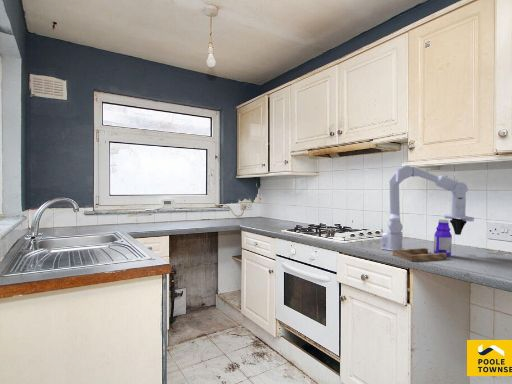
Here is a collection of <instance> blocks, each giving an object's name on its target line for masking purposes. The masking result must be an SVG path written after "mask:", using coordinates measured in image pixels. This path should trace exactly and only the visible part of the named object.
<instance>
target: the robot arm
mask: <svg viewBox="0 0 512 384" xmlns="http://www.w3.org/2000/svg"><path fill="white" fill-rule="evenodd" d="M411 177H413V178H414V177H419V178H422V179H425V180H427V181H430V182H433V183H434V184H435V186H436V187H439V188H441V189H444V190H446V191H449V192H451V211H450V212H451V214H448V213H445V214H443V218H444V219H447V220H449V219H450V220H449V223H451V224H450V225H452V228H453V231H454V235H457V236H458V235H459V236H460V235H461V234H462V231H463V229H464V227H465V225H466V224H467V222H474V221H475V217H474V216H473V217H472V216H467V215H466V211H467V210H466V204H467V203H466V202H467V201H466V200H467V195H466V194H467V193H468V190H469V187H468V186H467V185H466V183H464V182H459V180H458V179H453V178H450V177H448V175H442V174H441V175H438V176H437V175H436V174H433V173H430V172H428V171H426V170H423V169H421V168H417V167H414V166H410V165H402V166H401V167H399V168H397V170H395V172H394V173H393V175H392V176H391V178H390V179H389V180H388V184H389V187H388V188H389V189H388V191H389V192H388V193H389V221H388V223H387V227H388V230H387V231H384V232H382V235H381V248H380V249H381V250H385V251H392V252H393V250H403V249H404V248H403V231H402V230H403V224H402V222H401V215H400V207H401V206H400V184H401V183H403V181H405V180H406V179H408V178H411Z"/></svg>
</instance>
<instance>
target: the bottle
mask: <svg viewBox="0 0 512 384" xmlns="http://www.w3.org/2000/svg"><path fill="white" fill-rule="evenodd" d="M449 223H450V220H449V219H442V218H440V219H438V225H437V227H436V228H435V229H436V231H435V233H434V235H433V240H434V241H433V254H434V253H446V257H450V256H451V255H452V244H453V243H452V241H453V240H452V239H453V238H452V237H453V235H452V233H451V232H450V231H451V228H450V224H449Z"/></svg>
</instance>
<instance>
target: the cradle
mask: <svg viewBox="0 0 512 384" xmlns="http://www.w3.org/2000/svg"><path fill="white" fill-rule="evenodd" d="M428 249H429V248H426V247H423V248H422V247H421V248H408V249H406V248H403V250H393V251H392V256H393V257H397V258H399V259H403V260H406V261H409V262H422V261H423V262H425V260H426V261H436V260H438V261H439V260H447V256H446V253H434V252H433V253H428V252H429V251H428Z"/></svg>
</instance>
